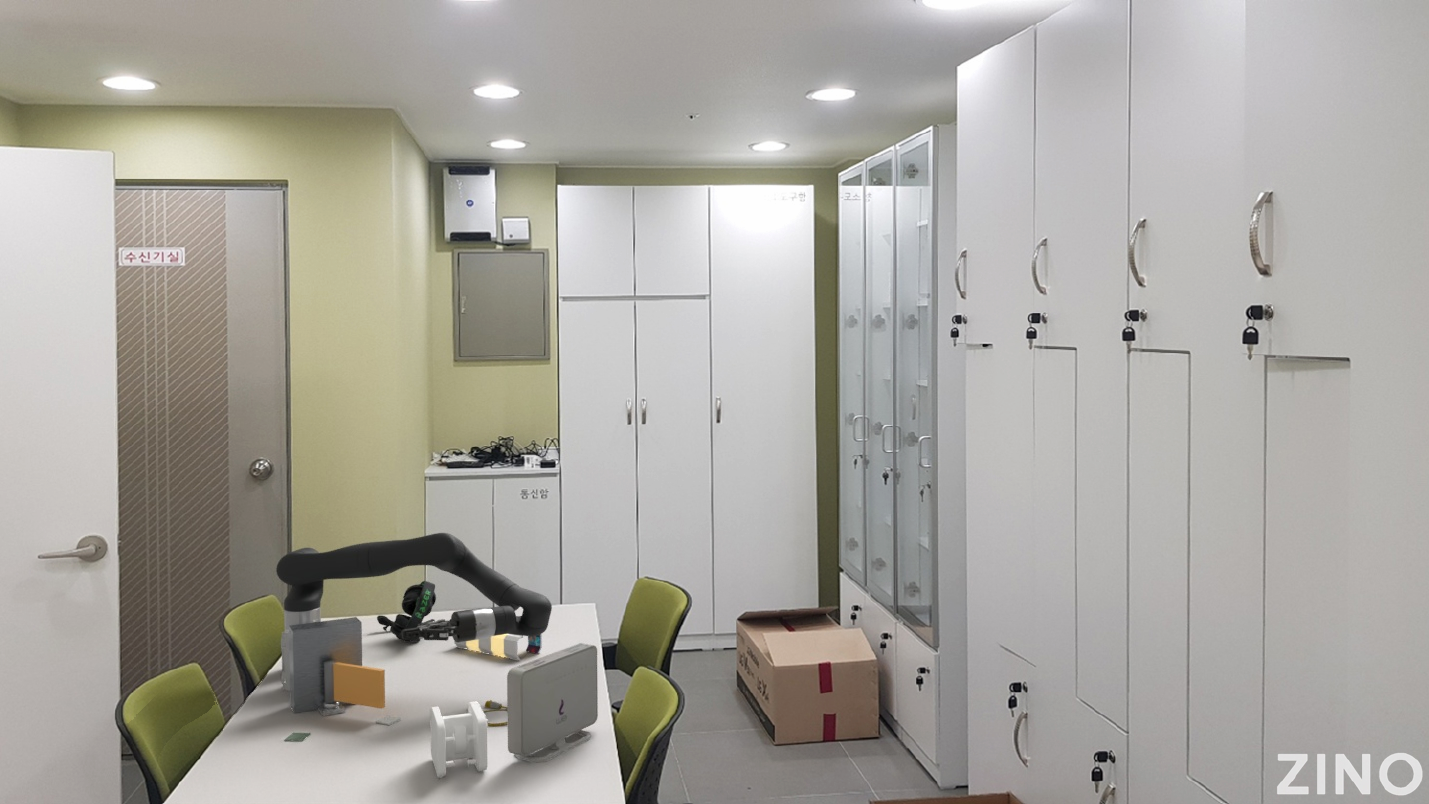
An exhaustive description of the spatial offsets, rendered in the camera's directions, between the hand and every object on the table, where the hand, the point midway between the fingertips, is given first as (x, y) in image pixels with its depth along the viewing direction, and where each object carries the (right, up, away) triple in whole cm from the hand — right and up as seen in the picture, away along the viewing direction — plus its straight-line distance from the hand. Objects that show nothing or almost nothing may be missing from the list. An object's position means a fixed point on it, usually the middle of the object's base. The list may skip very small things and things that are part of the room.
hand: (402, 635), depth 247 cm
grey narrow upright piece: (-29, -19, +22) cm, 41 cm away
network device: (+39, -21, -18) cm, 48 cm away
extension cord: (+22, -20, +1) cm, 30 cm away
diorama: (+11, -18, +56) cm, 59 cm away
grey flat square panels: (-16, -19, 0) cm, 25 cm away
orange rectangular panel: (-12, -17, +1) cm, 21 cm away
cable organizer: (+21, -21, -29) cm, 42 cm away
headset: (-19, -17, +67) cm, 72 cm away
